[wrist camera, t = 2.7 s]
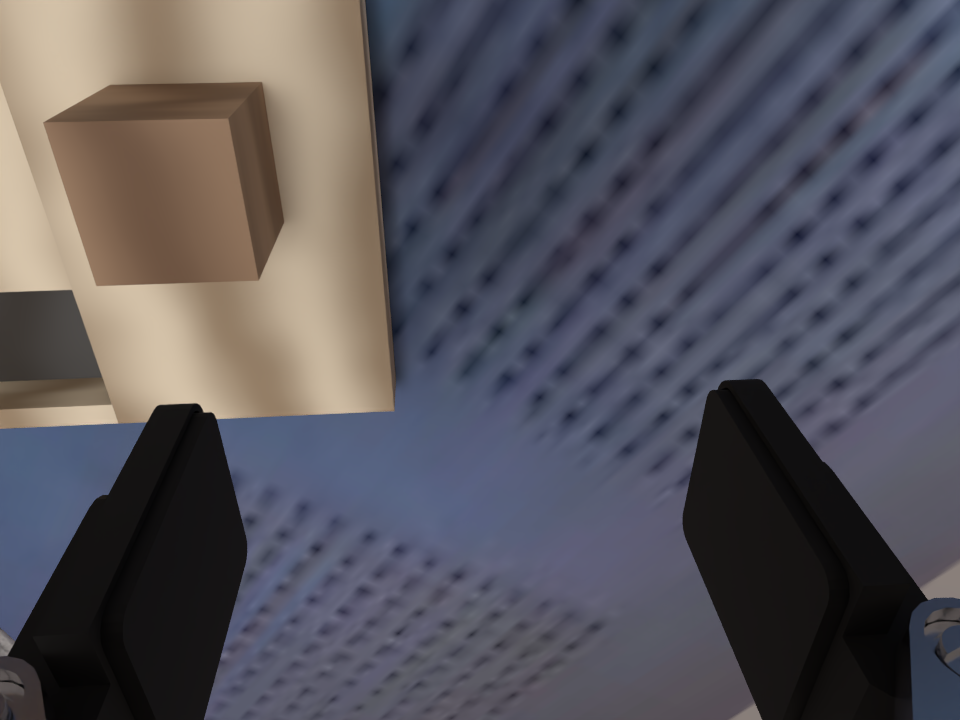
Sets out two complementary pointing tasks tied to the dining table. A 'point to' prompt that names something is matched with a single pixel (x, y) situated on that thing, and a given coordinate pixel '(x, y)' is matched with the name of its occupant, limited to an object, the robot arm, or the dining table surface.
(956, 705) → the robot arm
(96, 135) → the walnut block
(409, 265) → the dining table surface
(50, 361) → the board
